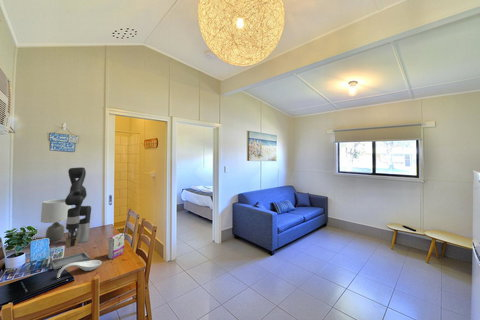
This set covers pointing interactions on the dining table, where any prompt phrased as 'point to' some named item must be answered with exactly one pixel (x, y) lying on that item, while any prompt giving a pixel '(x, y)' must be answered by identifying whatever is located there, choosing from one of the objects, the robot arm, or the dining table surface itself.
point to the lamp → (54, 217)
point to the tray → (69, 260)
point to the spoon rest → (82, 265)
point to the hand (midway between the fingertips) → (71, 244)
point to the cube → (68, 242)
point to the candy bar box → (116, 245)
